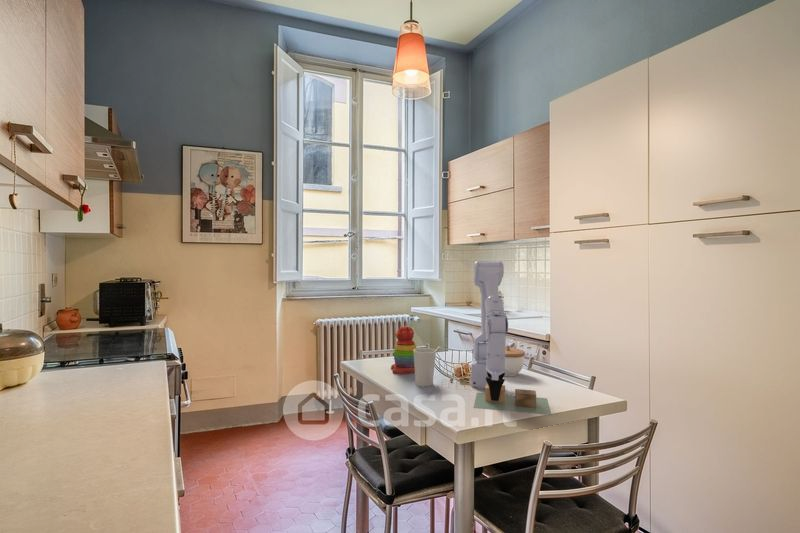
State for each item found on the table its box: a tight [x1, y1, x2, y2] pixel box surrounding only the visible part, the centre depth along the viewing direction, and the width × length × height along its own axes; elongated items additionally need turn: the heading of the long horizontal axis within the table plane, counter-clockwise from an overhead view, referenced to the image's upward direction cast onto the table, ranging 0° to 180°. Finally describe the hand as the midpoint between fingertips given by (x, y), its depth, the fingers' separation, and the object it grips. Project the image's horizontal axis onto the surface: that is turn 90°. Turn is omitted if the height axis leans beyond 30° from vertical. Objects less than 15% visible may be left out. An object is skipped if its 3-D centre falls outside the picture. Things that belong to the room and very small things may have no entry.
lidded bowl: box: [504, 345, 526, 377], centre depth 178 cm, size 13×13×11 cm
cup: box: [414, 347, 437, 387], centre depth 161 cm, size 8×8×12 cm
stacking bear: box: [390, 325, 418, 375], centre depth 180 cm, size 11×10×18 cm
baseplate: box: [473, 392, 553, 416], centre depth 139 cm, size 22×16×1 cm
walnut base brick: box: [514, 388, 537, 408], centre depth 137 cm, size 6×4×4 cm
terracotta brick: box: [484, 384, 506, 402], centre depth 142 cm, size 6×4×4 cm
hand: (495, 397), depth 142 cm, fingers open, 5 cm apart
